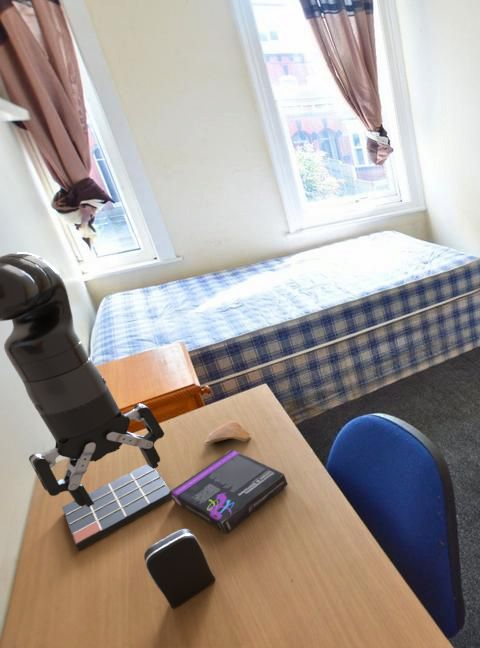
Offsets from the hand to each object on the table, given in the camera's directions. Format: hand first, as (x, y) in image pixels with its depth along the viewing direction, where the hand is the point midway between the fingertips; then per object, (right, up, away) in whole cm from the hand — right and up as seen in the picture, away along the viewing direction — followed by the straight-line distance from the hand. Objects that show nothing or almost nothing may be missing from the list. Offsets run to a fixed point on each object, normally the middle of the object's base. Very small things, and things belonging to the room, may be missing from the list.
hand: (122, 484), depth 71 cm
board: (-24, -15, +28) cm, 39 cm away
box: (0, -13, +27) cm, 30 cm away
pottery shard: (-11, -5, +46) cm, 48 cm away
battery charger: (+6, -21, +7) cm, 23 cm away
